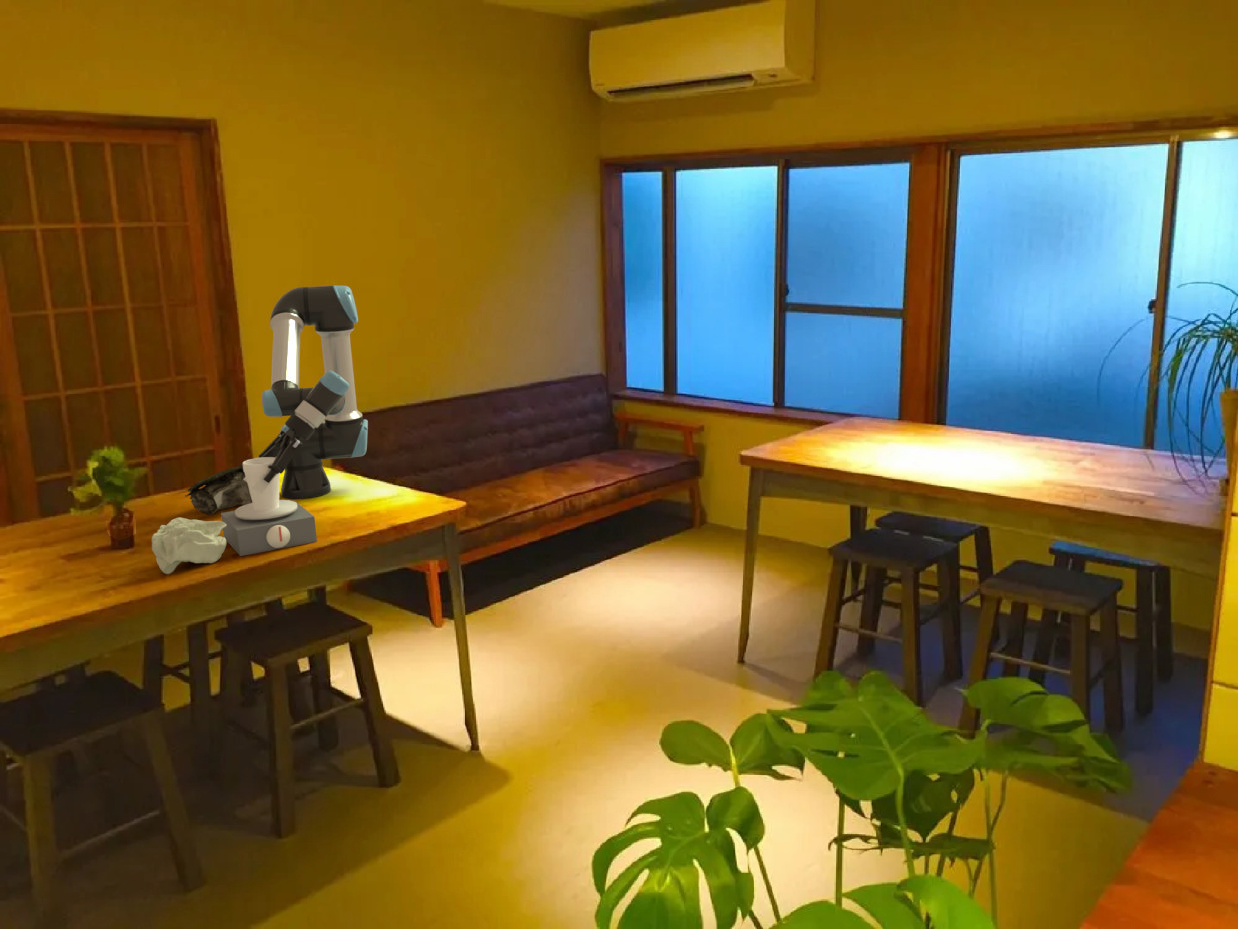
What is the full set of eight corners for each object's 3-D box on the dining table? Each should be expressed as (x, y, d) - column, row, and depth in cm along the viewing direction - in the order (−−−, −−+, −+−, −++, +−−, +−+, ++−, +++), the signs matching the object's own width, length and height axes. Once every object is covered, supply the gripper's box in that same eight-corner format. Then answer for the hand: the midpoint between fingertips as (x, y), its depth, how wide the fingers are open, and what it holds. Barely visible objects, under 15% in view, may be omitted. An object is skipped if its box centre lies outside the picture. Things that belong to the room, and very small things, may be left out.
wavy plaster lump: (202, 582, 268) (210, 524, 272) (227, 579, 260) (235, 519, 264) (133, 573, 255) (142, 511, 259) (157, 569, 247) (167, 506, 251)
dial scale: (224, 537, 284) (220, 506, 281) (297, 524, 294) (293, 493, 292) (241, 557, 266) (236, 524, 264) (318, 542, 276) (314, 510, 274)
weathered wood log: (198, 534, 304) (219, 502, 296) (170, 503, 305) (190, 470, 298) (265, 506, 328) (286, 476, 321) (239, 478, 329) (260, 447, 322)
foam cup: (290, 503, 282) (285, 457, 279) (276, 512, 273) (270, 465, 270) (257, 503, 283) (251, 457, 280) (242, 512, 274) (236, 465, 271)
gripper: (327, 436, 272) (273, 503, 268) (304, 423, 291) (253, 486, 287) (305, 419, 268) (250, 487, 264) (283, 407, 287) (231, 470, 283)
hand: (252, 486), depth 275 cm, fingers open, 10 cm apart
